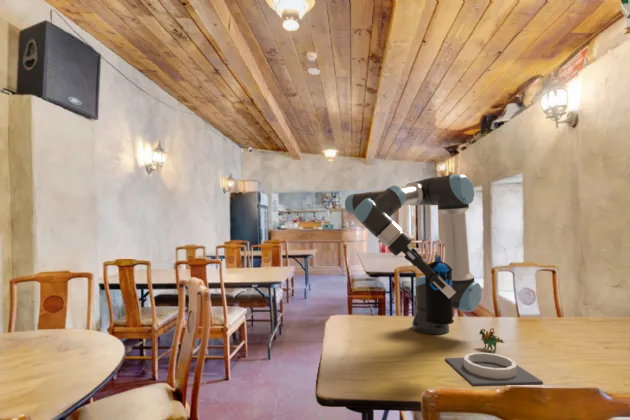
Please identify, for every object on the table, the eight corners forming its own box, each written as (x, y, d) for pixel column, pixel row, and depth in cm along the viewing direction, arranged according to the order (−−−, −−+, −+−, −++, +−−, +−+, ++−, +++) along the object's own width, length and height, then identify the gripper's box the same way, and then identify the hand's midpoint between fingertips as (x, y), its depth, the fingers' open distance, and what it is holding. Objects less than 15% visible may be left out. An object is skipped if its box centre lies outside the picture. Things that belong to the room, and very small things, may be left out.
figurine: (483, 345, 139) (482, 323, 139) (508, 356, 127) (507, 331, 128) (476, 346, 138) (475, 323, 138) (501, 357, 126) (500, 332, 127)
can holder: (473, 385, 104) (472, 374, 104) (445, 359, 124) (444, 350, 124) (542, 383, 105) (542, 372, 105) (503, 358, 125) (503, 349, 125)
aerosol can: (421, 318, 117) (419, 253, 117) (446, 317, 117) (445, 253, 118) (431, 325, 109) (429, 256, 109) (458, 324, 109) (457, 255, 110)
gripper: (387, 245, 127) (438, 294, 123) (385, 249, 107) (445, 308, 103) (403, 229, 126) (454, 278, 122) (403, 231, 106) (465, 290, 102)
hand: (450, 292), depth 113 cm, fingers closed on aerosol can, 8 cm apart
